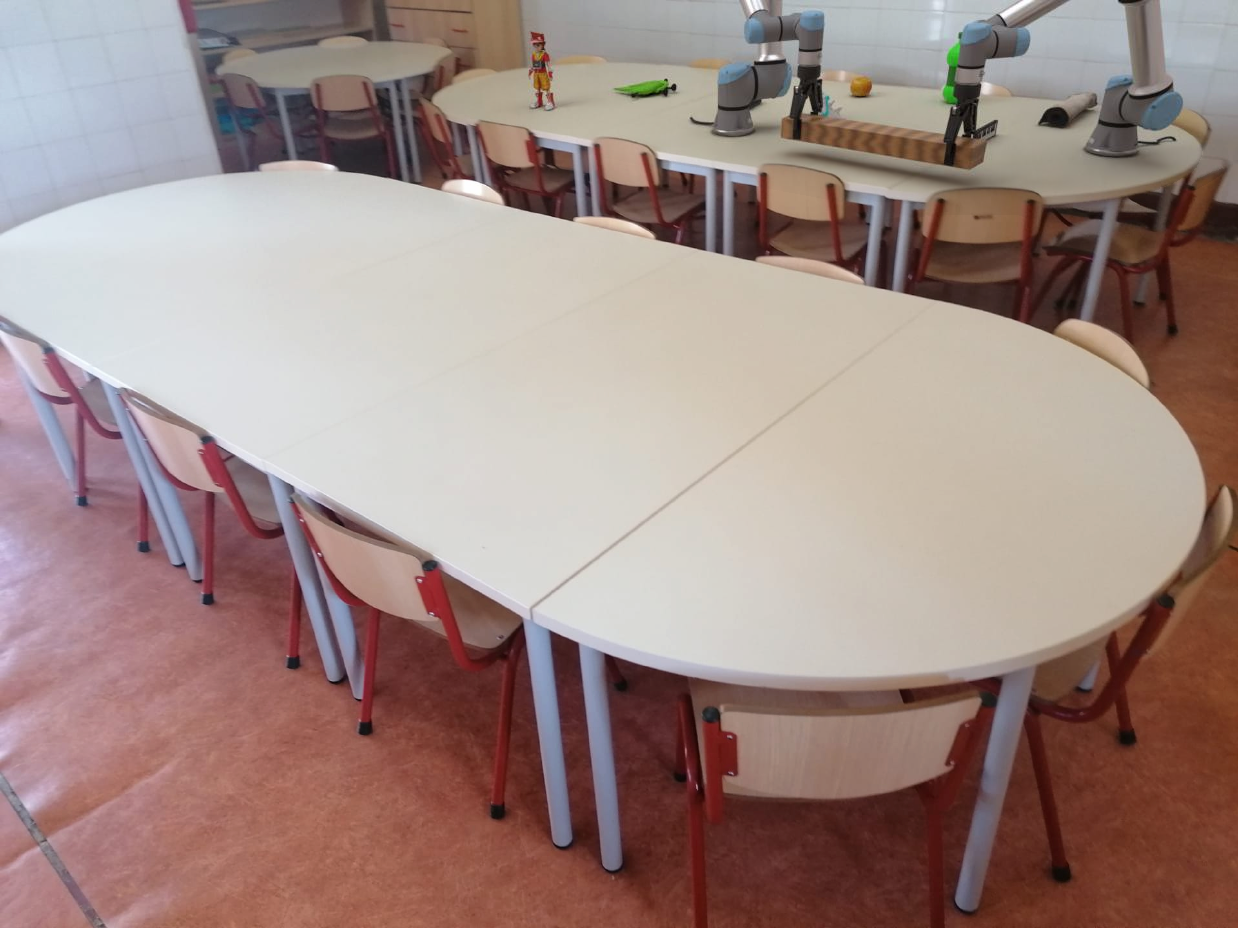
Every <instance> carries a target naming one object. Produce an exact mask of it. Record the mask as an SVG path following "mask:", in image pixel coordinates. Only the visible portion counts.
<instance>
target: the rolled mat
mask: <svg viewBox="0 0 1238 928" xmlns="http://www.w3.org/2000/svg"><path fill="white" fill-rule="evenodd" d="M1096 106H1098V94H1096V93H1095V92H1089V91H1085V92H1079V93H1072V94H1070V95H1068V96H1067V98H1066V99H1064V100H1062V101H1059V102H1058V103H1055V104H1054V105H1052V106H1051V107H1048V108H1047V109H1046V110H1044V112H1043V114H1042V115H1041V117H1040V118H1039V121H1038V123H1037V125H1038V126H1039V125H1042V124H1050V125H1051V126H1052V127H1057V128H1064V127H1066V126H1067V125H1068V124H1069V123H1071V121H1072V120H1073V119H1074V118H1075V117H1076V116H1077V115H1079V114H1080V113H1082V112H1083V111H1084V110H1088V109H1093V108H1095V107H1096Z"/></svg>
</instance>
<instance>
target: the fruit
mask: <svg viewBox="0 0 1238 928" xmlns="http://www.w3.org/2000/svg"><path fill="white" fill-rule="evenodd" d="M872 88H873V84H872V81H871V79H870V78H868V77H866V76H859V77H856V78H854V79H853V80H852V81H851V82H850V86H849V89H850V90H849V91H850V92H851V94H852V95H853V96H855V97H865V96H868V95H869V94H870V93H871V91H872Z"/></svg>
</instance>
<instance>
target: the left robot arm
mask: <svg viewBox="0 0 1238 928" xmlns="http://www.w3.org/2000/svg"><path fill="white" fill-rule="evenodd" d="M739 3H740V6H741V8H742V11H743V13H744V16H745V18H746V19H745V22H744V25H743V35H744V40H745V42H746V43H747V44H748V45H756V44H757V55H756V57H755V58H754V59H753V65H751V63H750V62H748V61H736V62H732V63H727V64H725V65H723V66H722V67H720V69H719V70H718V75H717V111H716V114H715V118H714V120H713V121H700V120H696V119H694V118H693V116H689V119H690V120H691V122H692V123H694V124H697V125H704V126H712V133H713V134H715V135H717V136H721V137H741V136H746V135H750V134H752V133H754V127H755V126H754V122H753V118H752V115H751V111H750V109H749V101H751V100H760V99H762V100H770V99H771V100H772V99H773V100H774V99H777V98H778V99H779V98H782V97H785V96H786V95H787V94H788V92H789V90H790V88H791V85H792V79H793V78H792V77H793V71H792V66H791V64H790V63H789V62H788V61H787V57H786V56H785V54H783V42H792V41H798V53H797V72H796V77H797V79H799V83H798V85H793V94H792V99H791V105H790V110H789V115H790V116H789V115H788V116H789V117H790V118H791V119H793V139H797V140H800V139H801V125H802V119H800V118H801V114H802V113H803V111H804V108H805V104H806V101H807V100H808V99H809V103H810V107H811V111H810V112H809V114H812V115H819V112H821V111H822V108H823V97H822V93H823V78H820V77H821V74H822V73H821V71H822V65H821V64H822V58H823V45H824V34H825V33H824V32H825V13H824V11H822V10H806V11H803V12H792V13H791V14H789V15H783V0H739Z"/></svg>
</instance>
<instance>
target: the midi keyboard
mask: <svg viewBox="0 0 1238 928" xmlns="http://www.w3.org/2000/svg"><path fill="white" fill-rule="evenodd" d="M998 123H999V120H998V119H994V120H992V121H989V122H987V123H986V124H984V125H983V126H981V127H979V128H976V130H975V131H976V133H975V135H972V138H974V139H980V140H988V139H989V138H991V137H993V136H996V134H997V129H998Z"/></svg>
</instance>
